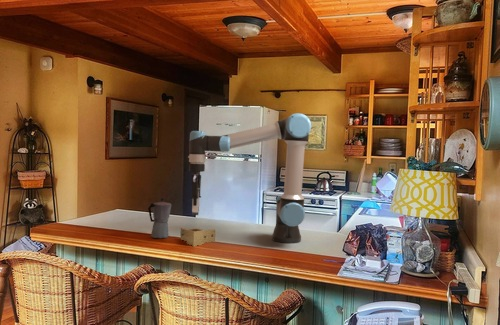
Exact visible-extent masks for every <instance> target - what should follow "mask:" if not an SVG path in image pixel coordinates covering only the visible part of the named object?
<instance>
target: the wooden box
mask: <svg viewBox="0 0 500 325" xmlns="http://www.w3.org/2000/svg"><path fill="white" fill-rule="evenodd" d="M182 240H184V241H183V242H185V241H187V242H186V245H188V244H189V246H191V245H192V246H191V247H198V246H197V245H199V246H203V245H204V244H206V243H205V242H207V243H213V242H216V229H214V228H212V229H205V230H203V229H200V228H190V229H187V228H184V227H181V228H180V241H182ZM212 241H213V242H212ZM202 244H203V245H202Z"/></svg>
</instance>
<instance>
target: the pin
mask: <svg viewBox="0 0 500 325" xmlns="http://www.w3.org/2000/svg"><path fill="white" fill-rule="evenodd" d="M199 190H200V191H201V188H198V212H192V216H199V212H200V198H199Z"/></svg>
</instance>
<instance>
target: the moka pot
mask: <svg viewBox="0 0 500 325" xmlns="http://www.w3.org/2000/svg"><path fill="white" fill-rule="evenodd" d="M151 208H152V210H151ZM171 208H172V203H170V202H165V198H161V199H160V201H158V202H153V203H152V202H151V204H150V205H149V206H148V209H147V210H148V215H149V221H150V222H152V223H153V224H152V229H151V235H150V237H151V238H154V239H168V238H169V223H168V222H169V218H170V214H171V210H172V209H171ZM152 215H153V216H152Z"/></svg>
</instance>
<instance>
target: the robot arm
mask: <svg viewBox="0 0 500 325" xmlns="http://www.w3.org/2000/svg"><path fill="white" fill-rule="evenodd" d="M311 130H312V122H311V119H310V118H309V116H307V115H305V114H304V113H299V112H298V113H296V112H295V113H293V114H291V115H290V116H288V117H286V118H283V119H280V120H277V121H275V123H272V124H268V125H263V126H259V127H255V128H250V129H246V130H242V131H238V132H234V133H233V132H231V133H229V134H224V135H223V134H222V135H208V134H206V131H203V130H192V131H191V132H189V143H188V144H189V145H188V147H189V152H188V153H189V155H188V156H187V158H188V162H189V164H188V171H189V172H192V175H191V197H190V199H191V200H192V202H191V203H192V204H191V205H192V206H191V212H192V213H193V212H198V188H200V190H199V199H200V198H202V196H201V187H202V186H201V184H202V181H201V180H202V175H201V172H205V170H206V169H205V162H206V152H222V153H225V152H226V153H227V152H230V150H231V149H235V148H239V147H244V146H249V145H253V144H254V145H255V144H258V143H261V142H267V141H271V140H275V139H278V140H284V143H286V156H285V158H286V159H285V168H284V169H285V170H284V171H285V172H284V186H283V194H282V195H279V196H277V197H276V201H275V202H276V209H275V211H276V213H275V214H276V215H275V226H274V229H273V233H272V235H271V239H272V241H274V242H278V243H282V244H283V243H284V244H295V243H296V244H297V243H300V242H302V235H301V231H300V228H299V225H300V224H302V223H303V221H304V220H305V217H306V211H305V208H304V207H305V197H304V196H303V195H302V193H303V190H302V189H303V180H304V179H303V178H304V177H303V176H304V164H305V150H306V149H305V148H306V145H307V144H308V143H309V139H310V138H309V137H310V136H309V135H310V132H311Z"/></svg>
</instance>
